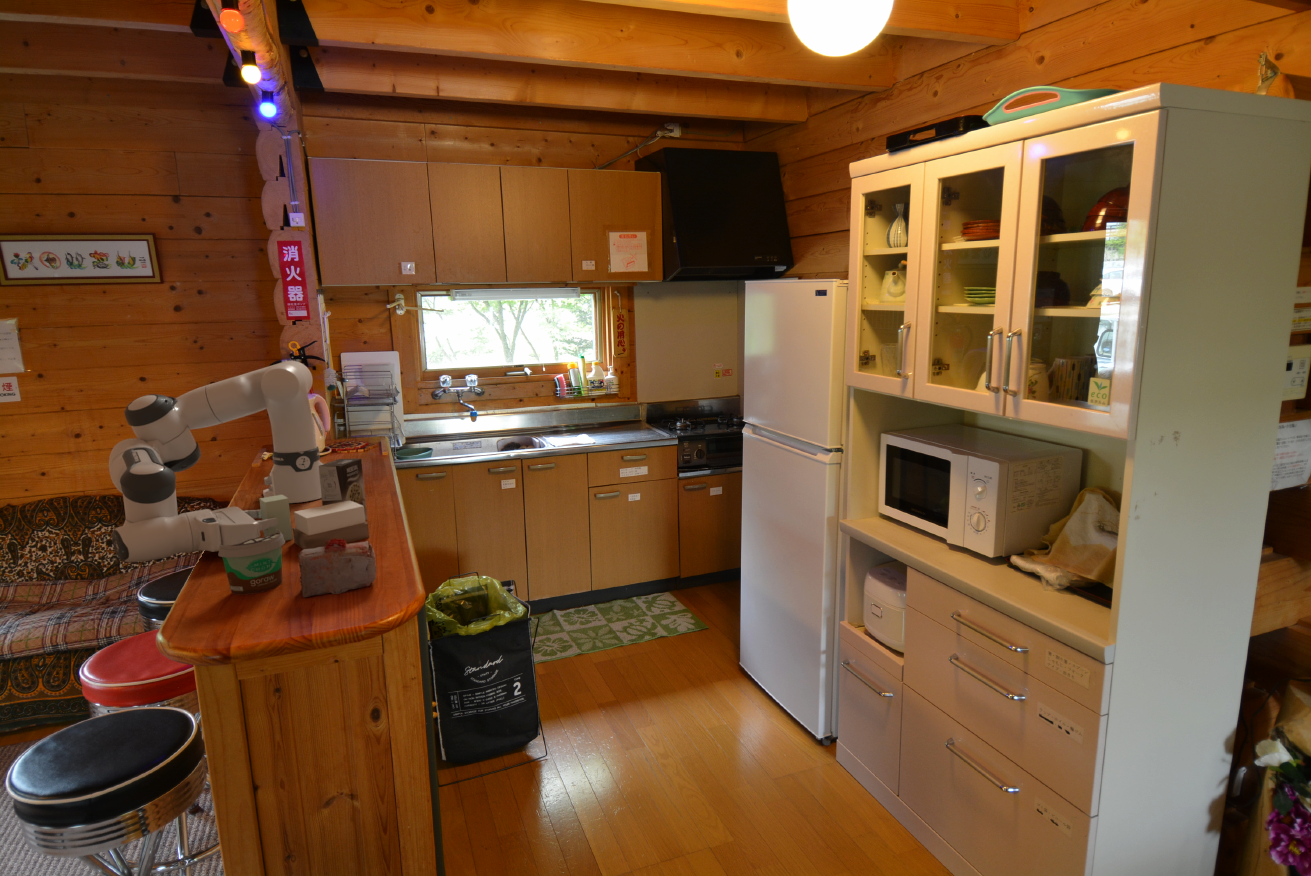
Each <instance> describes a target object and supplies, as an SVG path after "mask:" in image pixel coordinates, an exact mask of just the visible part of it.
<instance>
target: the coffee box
mask: <svg viewBox="0 0 1311 876" xmlns="http://www.w3.org/2000/svg"><path fill="white" fill-rule="evenodd" d="M362 463H363V462H362V458H339V459H335V460H333V461H330V462H327V463H323V465H320V466H319V475H320V485H321V496H322V498H321V503H322V505H321V506H325V505H329V504H334V503H339V502H344V501H349V500H350V501H353V502H355V503H358V504H360V505H363V506H364V512H365V521H367V520H368V513H367V503H366V495H365V484H364V483H365V482H364V474H363V473H364V472H363V464H362Z"/></svg>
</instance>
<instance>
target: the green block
mask: <svg viewBox="0 0 1311 876" xmlns="http://www.w3.org/2000/svg"><path fill="white" fill-rule="evenodd" d="M258 501H259V506H260V509H261V516H262V518H261V521H262V520H266V519H267V518H272V517H275V518H276V519H277V523H278V524H277V525H276V526H272V527H269V528H267V529H265V530H262V531H263V537H266V536H270V535H272V534H276V529H278V530H280V531H281V533H282V534H283V537H284V540H285V542H286V541H291V540H294V534H293V528H292V521H291V517H292V516H291V511H290V503H289V501H288V498H287V497H285V496H284V495H277V496H271V497H265V498H264V497H260V498H259V499H258Z"/></svg>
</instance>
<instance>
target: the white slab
mask: <svg viewBox="0 0 1311 876" xmlns="http://www.w3.org/2000/svg"><path fill="white" fill-rule="evenodd" d="M293 515H294V524H295V528H296V529H298V530H300V531H302V532H303V533H305V534H307V535H313V534H317V533H322V532H326V531H330V530H335V529H339V528H344V527H348V526H352V525H357V524H361V523H365V522H366V520H365V512H364V506H363V505H360V504H358V503H355V502H353V501H350V500H349V501H344V502H339V503H334V504H329V505H325V506H322V505H321V506H315V507H310V508H306V509H301V510H296V511H294V512H293Z"/></svg>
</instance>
